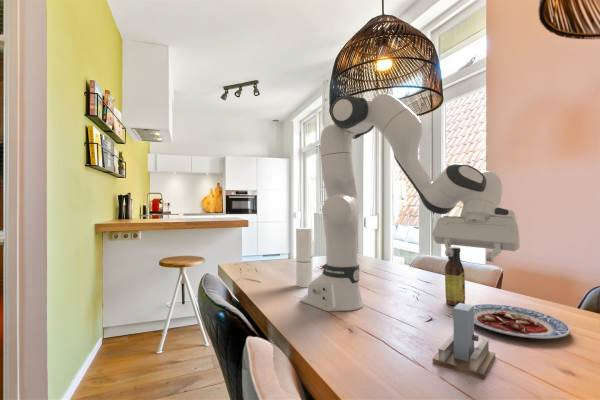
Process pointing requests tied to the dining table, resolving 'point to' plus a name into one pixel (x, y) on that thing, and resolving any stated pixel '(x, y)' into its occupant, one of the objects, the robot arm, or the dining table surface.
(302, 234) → the cylindrical container
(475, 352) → the floor track
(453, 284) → the sauce bottle
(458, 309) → the upright grey pillar
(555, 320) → the ceramic plate
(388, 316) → the dining table surface
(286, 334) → the dining table surface
